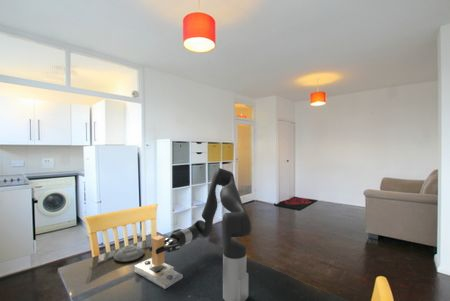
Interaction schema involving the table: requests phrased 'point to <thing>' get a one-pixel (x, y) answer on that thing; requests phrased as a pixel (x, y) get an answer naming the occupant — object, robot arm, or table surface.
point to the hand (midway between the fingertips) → (153, 250)
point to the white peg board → (161, 278)
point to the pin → (157, 243)
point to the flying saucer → (129, 253)
